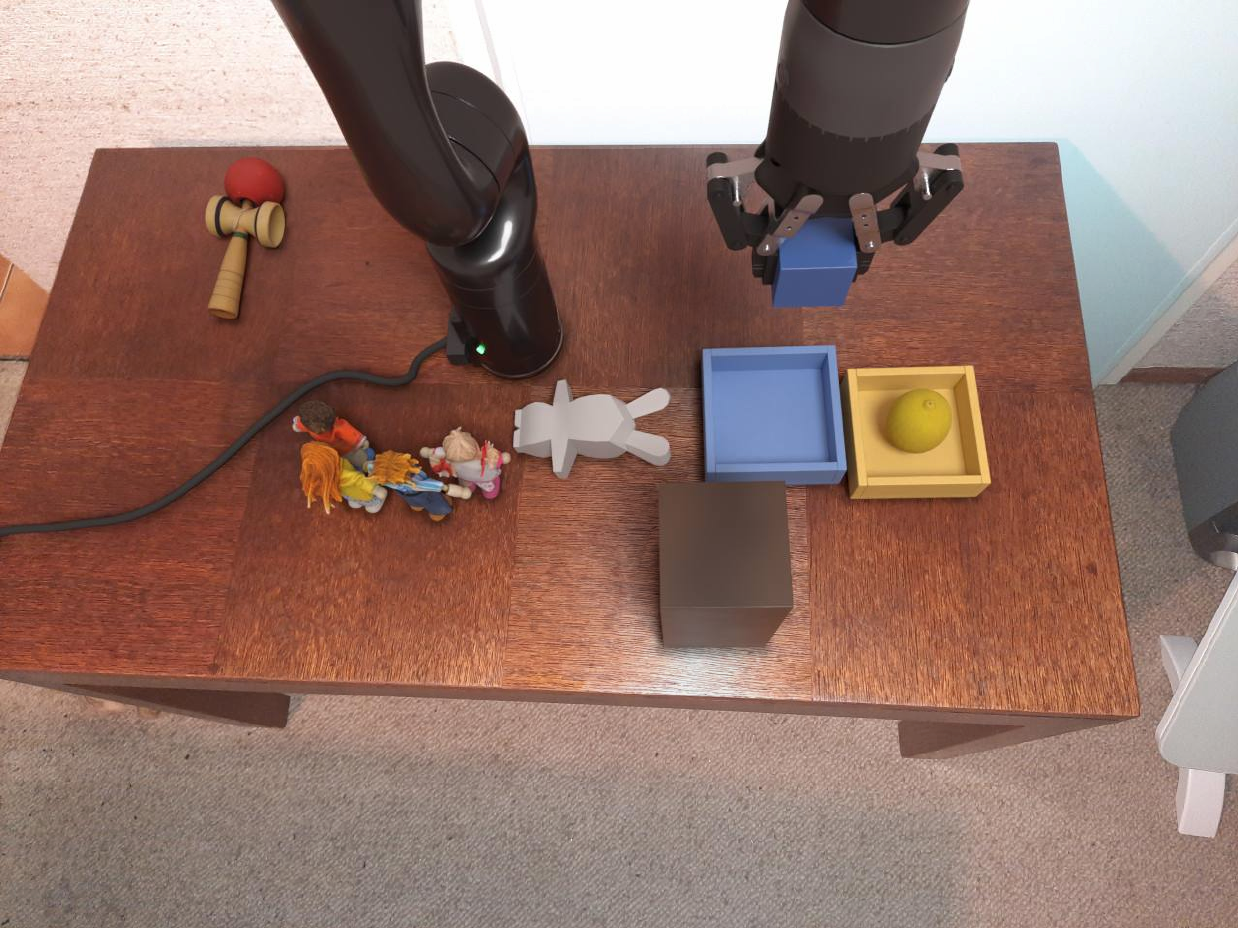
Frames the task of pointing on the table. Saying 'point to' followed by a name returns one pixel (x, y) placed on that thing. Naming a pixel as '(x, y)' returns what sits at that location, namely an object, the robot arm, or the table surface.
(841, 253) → the blue block
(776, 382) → the blue bin
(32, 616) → the table surface
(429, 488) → the doll family
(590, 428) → the bunny figurine
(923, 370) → the yellow bin
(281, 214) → the kendama
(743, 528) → the stand
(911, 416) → the lemon
